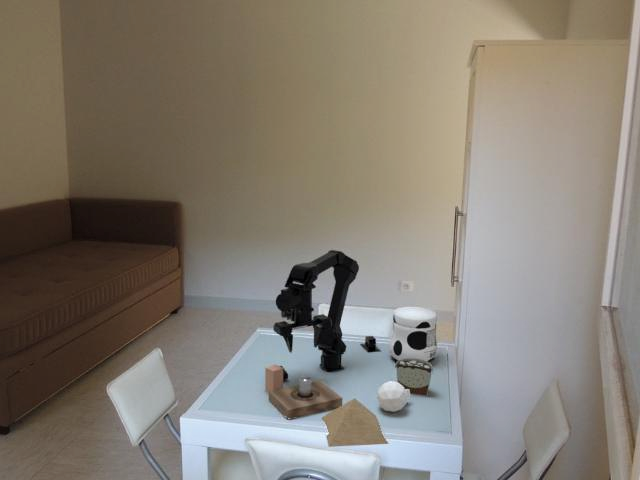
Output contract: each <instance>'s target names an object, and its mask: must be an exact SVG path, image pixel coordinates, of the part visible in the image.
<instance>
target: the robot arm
mask: <svg viewBox="0 0 640 480" xmlns="http://www.w3.org/2000/svg"><path fill="white" fill-rule="evenodd" d="M330 268H332V269H333V271H332V274H333V277H334V283H335V284H334V286H333V290H332V291H333V292H332V295H331V300H330V303H329V304H330V305H329V310H328V313H327V315H326V314H324V313H322V314H317V315H313V312H315V308H314V307H313V304H312V303H313V289H315V288H316V287H317V286H316V285H315V284H314V282H316V281H317V280H318V279H319V275H320V274H322V273H324V272H326V271H327V270H329V269H330ZM359 270H360V265H359V264H358V261H357V260H355V259H353V258H352V257H350V256H348V255H347V254H345V252H343V251H340V250H335V249H331V250H329V251H328V252H327V253H324V254H322V255H321V256H319V257H317V258H315V259H313V260H311V261H310V262H301V263H297V264H295V265H293V267H292V268H291V270H290V271H289V274H288V277H287V279H286V282H285V284H284V288H282V289H281V290H280V293H279V294H277V296H276V298H275V305H276V307H277V309H278V310H279V311H281V312H280V315H281V318H282V319H284V318H285V319H286V320H287V321H288V320H290V322H292V323H289V322H287V321H285V320H283V321H278V322H275V323H274V325H273V332H274V333H276V334H277V335H279V336H281V337H283V339H284V341H285V344H286V348H287V350H288V352H289V353H291V354H292V352H293V343H294V342H293V341H294V335H293V334H292V333H293V330H297V329H303V328H307V327H312V328H313V347H314V349H315V348H318V350H319V351H321V355H320V364H319V367H320V368H322V369H323V370H325V371H326V372H328V373H329V372H330V373H332V372H334V371H339V370H343V369H344V368H345V367H344V366H343V365H342V360H343V359H342V357H343V356H342V355H344V354H345V353H346V351H347V345H346V343H345V342H344V341H343V332H342V329H341V328H342V327H341V322H342V317H343V313H344V310H345V309H344V308H345V305H346V301H347V296H348V292H349V287H350V285H351V284H353V282H354V281H355V280H356V278H357V275H358V273H359ZM312 316H313V317H312Z"/></svg>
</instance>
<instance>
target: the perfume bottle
mask: <svg viewBox="0 0 640 480" xmlns="http://www.w3.org/2000/svg"><path fill="white" fill-rule="evenodd" d="M409 398H411V394H410V389H405V388H404V387H403V386H402V385H401V384H400V383H398V382H397V381H393V380H392V381H391V380H389V381H386V382H384V383H383V384H382V385H381V386H380V387H379V388H378V390H377V395H376V399H377V402H378V404H379V406H380V407H381V408H382V409H383V410H384V411H386V412H391V413H392V412H393V413H396V412H398V411H400V410H402V409H403V408H404V407H405V406H406V404H407V402H408V399H409Z"/></svg>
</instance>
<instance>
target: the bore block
mask: <svg viewBox="0 0 640 480" xmlns="http://www.w3.org/2000/svg"><path fill="white" fill-rule="evenodd" d="M268 401H269V402H270V403H271V404H272V405H273V406H274V407H275V408H276V409H277V410H278V411H279V413H281V414H282V416H284V417H285V416H286V417H287V418H294V417H298V418H301V416H302V417H306V416H310V415H314V414H319V413H323V412H328V411H333V410H335V409H337V408H338V407H340V406H342V405H343V397H342V396H341V395H339V394H338V393H337V392H336V391H334V390H333V389H332V388H331V387H329V385H326V383H324V382H323V381H322V380H317V381H311V397H310V398H301V397H299V384H296V385H291V386H287V387H283V388H281V389H276V390H271V391H269V393H268ZM286 417H285V418H286ZM287 418H286V419H287ZM294 419H295V418H294Z"/></svg>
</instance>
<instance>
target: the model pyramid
mask: <svg viewBox="0 0 640 480" xmlns="http://www.w3.org/2000/svg"><path fill="white" fill-rule="evenodd" d="M320 418H322V419H321V421H322V420H323V421H324V422H325V424H326V426H327V429H328V432H329V434H328V435H327V436H326V435H325V438H326V440H327V441H326V442H327V445H328V447H330V448H331V447H349V446H350V447H351V446H352V447H353V446H373V445H374V446H375V445H389V442H388V440H387V441H386V439H387V438H386V439H385V438H384V436H383V434H382V431H383V430H382V431H381V428H382V427H381V428H380V426H381V425H379V424H380V421H379V420H378V418H377V416H376V414H375V413H373V412H372V411H371V410H370V409H369V408H367V407H366V406H365V405H364V404H363V403H361V402H360V401H359V400H358V399H357V398H355V397H354V398H352V399H350V400H349V401H347V402H346V403H344V404H342V406H340V407H338V408H337V409H333V410H331V411H330V412H328V413H327V414H325V415H323V416H322V417H320Z"/></svg>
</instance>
